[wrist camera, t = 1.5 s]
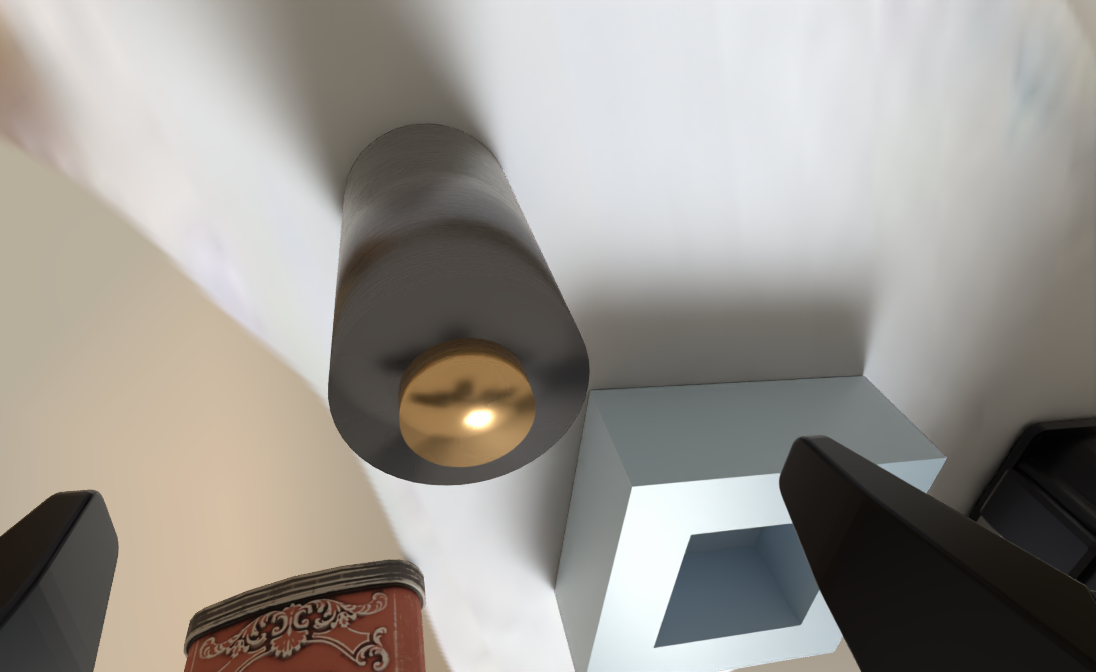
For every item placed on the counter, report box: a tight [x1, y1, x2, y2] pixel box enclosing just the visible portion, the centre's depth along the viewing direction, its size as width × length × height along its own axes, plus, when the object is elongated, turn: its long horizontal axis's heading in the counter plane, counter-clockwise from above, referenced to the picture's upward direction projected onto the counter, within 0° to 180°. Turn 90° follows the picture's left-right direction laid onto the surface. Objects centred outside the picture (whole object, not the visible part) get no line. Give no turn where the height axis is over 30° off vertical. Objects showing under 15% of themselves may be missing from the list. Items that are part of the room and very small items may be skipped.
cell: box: [328, 124, 589, 485], centre depth 13 cm, size 4×4×8 cm
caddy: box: [554, 376, 947, 672], centre depth 23 cm, size 10×10×4 cm
